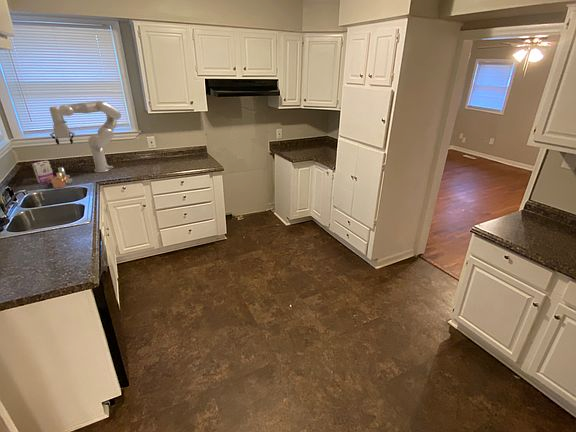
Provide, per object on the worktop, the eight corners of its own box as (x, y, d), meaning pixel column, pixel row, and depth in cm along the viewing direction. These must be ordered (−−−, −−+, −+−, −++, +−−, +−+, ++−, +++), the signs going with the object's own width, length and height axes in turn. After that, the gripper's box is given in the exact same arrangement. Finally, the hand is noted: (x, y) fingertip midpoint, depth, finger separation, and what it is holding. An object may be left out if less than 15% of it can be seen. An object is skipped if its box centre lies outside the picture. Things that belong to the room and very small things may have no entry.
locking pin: (65, 184, 254) (61, 172, 250) (64, 185, 251) (60, 173, 247) (60, 184, 253) (56, 172, 249) (59, 185, 250) (55, 173, 246)
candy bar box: (52, 179, 264) (46, 160, 257) (55, 180, 262) (49, 161, 255) (37, 182, 256) (31, 163, 249) (40, 183, 253) (34, 164, 246)
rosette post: (73, 179, 264) (69, 165, 259) (67, 187, 248) (62, 172, 243) (59, 180, 261) (55, 166, 256) (52, 188, 245) (47, 173, 240)
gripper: (72, 121, 259) (78, 142, 266) (48, 122, 253) (54, 143, 260) (70, 123, 252) (76, 144, 260) (45, 123, 247) (51, 145, 254)
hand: (65, 143), depth 260 cm, fingers open, 9 cm apart
